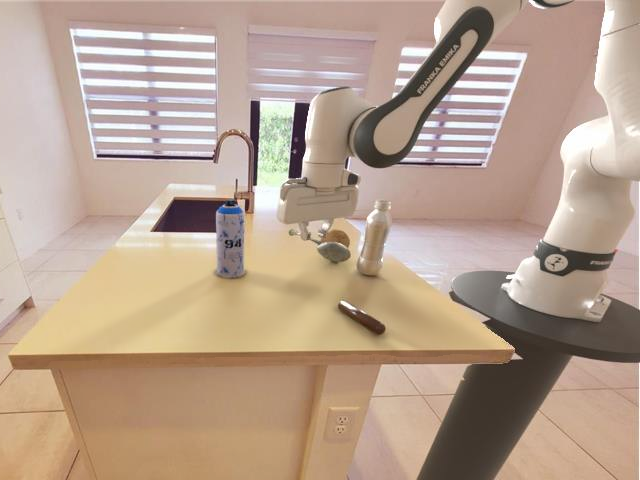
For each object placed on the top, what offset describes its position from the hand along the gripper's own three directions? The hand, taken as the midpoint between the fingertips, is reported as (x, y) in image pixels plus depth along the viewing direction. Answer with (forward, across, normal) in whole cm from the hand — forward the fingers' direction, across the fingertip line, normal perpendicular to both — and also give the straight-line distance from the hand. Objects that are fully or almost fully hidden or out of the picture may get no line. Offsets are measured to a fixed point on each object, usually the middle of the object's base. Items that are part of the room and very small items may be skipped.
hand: (314, 238), depth 74 cm
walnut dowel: (+13, 0, -18) cm, 22 cm away
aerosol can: (+13, -14, +17) cm, 26 cm away
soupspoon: (+2, 0, -1) cm, 2 cm away
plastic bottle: (+13, +21, 0) cm, 25 cm away
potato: (+13, +18, +12) cm, 25 cm away
